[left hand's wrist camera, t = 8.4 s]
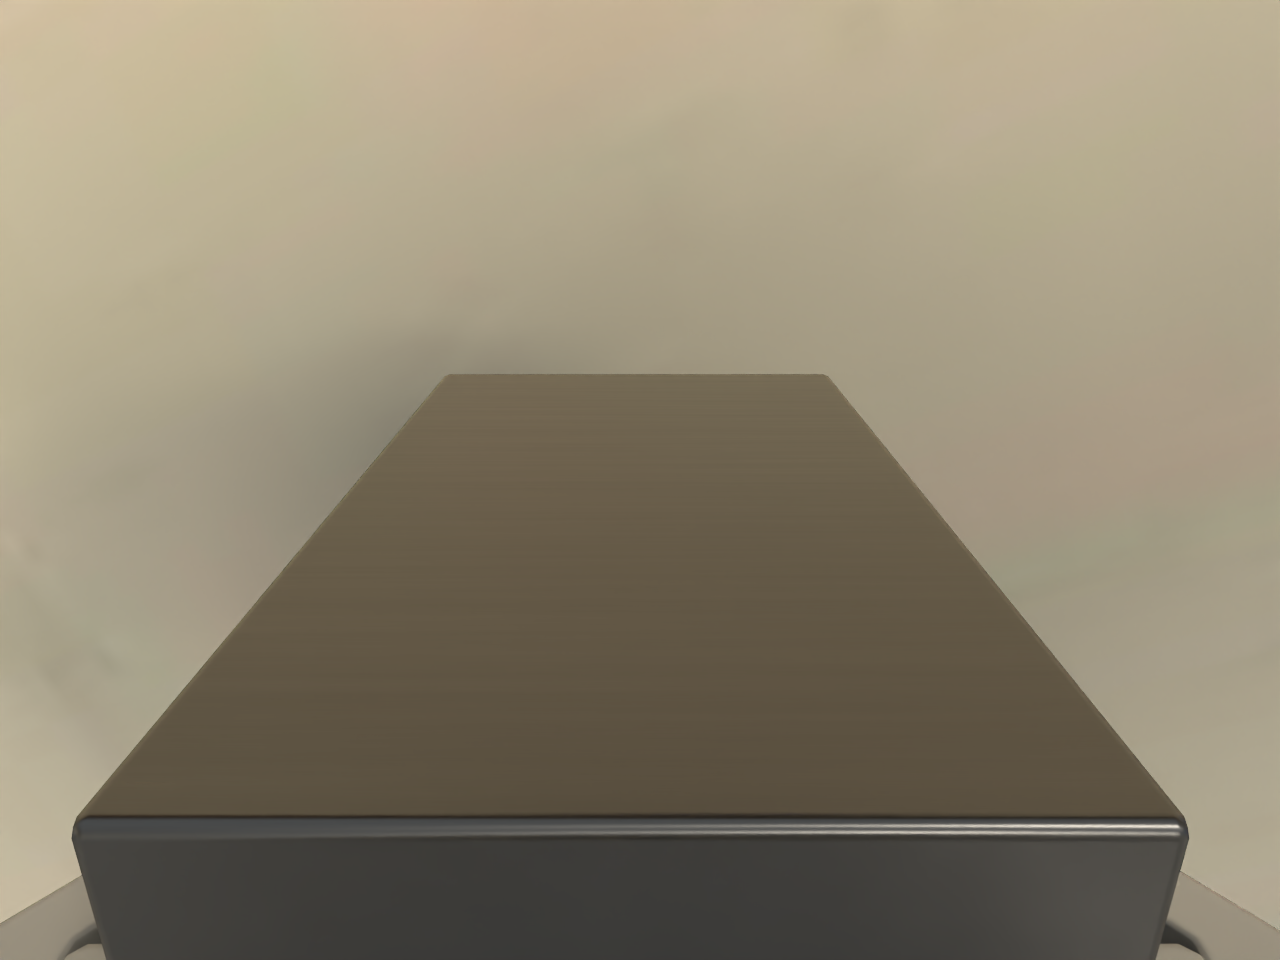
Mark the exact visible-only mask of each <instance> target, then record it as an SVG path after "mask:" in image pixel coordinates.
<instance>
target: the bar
mask: <svg viewBox="0 0 1280 960" xmlns="http://www.w3.org/2000/svg"><path fill="white" fill-rule="evenodd" d="M1188 840H1189V834H1188V827H1187V824H1186V821H1185V818H1184V816H1183V815H1182V813H1181V812H1180V811H1179V810H1178V809H1177V807H1176V806H1175V805H1174V804H1173V802H1172V801H1171V800H1170V799H1169V797H1168V796H1167V795H1166V794H1165V792H1164V791H1163V790H1162V789H1161V787H1160V786H1159V785H1158V784H1157V783H1156V781H1155V780H1154V779H1153V778H1152V776H1151V775H1150V774H1149V773H1148V771H1147V770H1146V769H1145V768H1144V766H1143V765H1142V764H1141V763H1140V762H1139V760H1138V759H1137V758H1136V757H1135V755H1134V754H1133V753H1132V752H1131V750H1130V749H1129V748H1128V747H1127V745H1126V744H1125V743H1124V742H1123V740H1122V739H1121V738H1120V737H1119V736H1118V734H1117V733H1116V732H1115V731H1114V729H1113V728H1112V727H1111V726H1110V724H1109V723H1108V722H1107V721H1106V719H1105V718H1104V717H1103V716H1102V715H1101V713H1100V712H1099V711H1098V710H1097V708H1096V707H1095V706H1094V705H1093V703H1092V702H1091V701H1090V700H1089V698H1088V697H1087V696H1086V695H1085V694H1084V692H1083V691H1082V690H1081V689H1080V687H1079V686H1078V685H1077V684H1076V682H1075V681H1074V680H1073V679H1072V677H1071V676H1070V675H1069V674H1068V672H1067V671H1066V670H1065V669H1064V668H1063V666H1062V665H1061V664H1060V663H1059V661H1058V660H1057V659H1056V658H1055V656H1054V655H1053V654H1052V653H1051V651H1050V650H1049V649H1048V648H1047V647H1046V645H1045V644H1044V643H1043V642H1042V640H1041V639H1040V638H1039V637H1038V635H1037V634H1036V633H1035V632H1034V630H1033V629H1032V628H1031V627H1030V626H1029V624H1028V623H1027V622H1026V621H1025V619H1024V618H1023V617H1022V616H1021V614H1020V613H1019V612H1018V611H1017V609H1016V608H1015V607H1014V606H1013V604H1012V603H1011V602H1010V601H1009V600H1008V598H1007V597H1006V596H1005V595H1004V593H1003V592H1002V591H1001V590H1000V588H999V587H998V586H997V585H996V583H995V582H994V581H993V580H992V579H991V577H990V576H989V575H988V574H987V572H986V571H985V570H984V569H983V567H982V566H981V565H980V564H979V562H978V561H977V560H976V559H975V558H974V556H973V555H972V554H971V553H970V551H969V550H968V549H967V548H966V546H965V545H964V544H963V543H962V541H961V540H960V539H959V538H958V536H957V535H956V534H955V533H954V532H953V530H952V529H951V528H950V527H949V525H948V524H947V523H946V522H945V520H944V519H943V518H942V517H941V515H940V514H939V513H938V512H937V511H936V509H935V508H934V507H933V506H932V504H931V503H930V502H929V501H928V499H927V498H926V497H925V496H924V494H923V493H922V492H921V491H920V490H919V488H918V487H917V486H916V485H915V483H914V482H913V481H912V480H911V478H910V477H909V476H908V475H907V473H906V472H905V471H904V470H903V468H902V467H901V466H900V465H899V464H898V462H897V461H896V460H895V459H894V457H893V456H892V455H891V454H890V452H889V451H888V450H887V449H886V447H885V446H884V445H883V444H882V443H881V441H880V440H879V439H878V438H877V436H876V435H875V434H874V433H873V431H872V430H871V429H870V428H869V426H868V425H867V424H866V423H865V422H864V420H863V419H862V418H861V417H860V415H859V414H858V413H857V412H856V410H855V409H854V408H853V407H852V405H851V404H850V403H849V402H848V400H847V399H846V398H845V397H844V396H843V394H842V393H841V392H840V391H839V389H838V388H837V387H836V386H835V384H834V383H833V382H832V381H831V379H830V378H829V377H828V376H826V375H823V374H450V375H447V376H445V377H444V378H443V379H442V381H441V382H440V383H439V384H438V385H437V387H436V388H435V389H434V390H433V391H432V393H431V394H430V395H429V396H428V397H427V399H426V400H425V401H424V402H423V403H422V405H421V406H420V407H419V408H418V409H417V411H416V412H415V413H414V414H413V415H412V417H411V418H410V419H409V420H408V421H407V422H406V424H405V425H404V426H403V427H402V428H401V430H400V431H399V432H398V433H397V434H396V436H395V437H394V438H393V439H392V440H391V442H390V443H389V444H388V445H387V446H386V448H385V449H384V450H383V451H382V452H381V454H380V455H379V456H378V457H377V458H376V460H375V461H374V462H373V463H372V464H371V466H370V467H369V468H368V469H367V470H366V472H365V473H364V474H363V475H362V476H361V478H360V479H359V480H358V481H357V482H356V484H355V485H354V486H353V487H352V488H351V490H350V491H349V492H348V493H347V494H346V495H345V497H344V498H343V499H342V500H341V501H340V503H339V504H338V505H337V506H336V507H335V509H334V510H333V511H332V512H331V513H330V515H329V516H328V517H327V518H326V519H325V521H324V522H323V523H322V524H321V525H320V527H319V528H318V529H317V530H316V531H315V533H314V534H313V535H312V536H311V537H310V539H309V540H308V541H307V542H306V543H305V545H304V546H303V547H302V548H301V549H300V551H299V552H298V553H297V554H296V555H295V557H294V558H293V559H292V560H291V561H290V562H289V564H288V565H287V566H286V567H285V568H284V570H283V571H282V572H281V573H280V574H279V576H278V577H277V578H276V579H275V580H274V582H273V583H272V584H271V585H270V586H269V588H268V589H267V590H266V591H265V592H264V594H263V595H262V596H261V597H260V598H259V600H258V601H257V602H256V603H255V604H254V606H253V607H252V608H251V609H250V610H249V612H248V613H247V614H246V615H245V616H244V618H243V619H242V620H241V621H240V622H239V624H238V625H237V626H236V627H235V628H234V629H233V631H232V632H231V633H230V634H229V635H228V637H227V638H226V639H225V640H224V641H223V643H222V644H221V645H220V646H219V647H218V649H217V650H216V651H215V652H214V653H213V655H212V656H211V657H210V658H209V659H208V661H207V662H206V663H205V664H204V665H203V667H202V668H201V669H200V670H199V671H198V673H197V674H196V675H195V676H194V677H193V679H192V680H191V681H190V682H189V683H188V685H187V686H186V687H185V688H184V689H183V691H182V692H181V693H180V694H179V695H178V697H177V698H176V699H175V700H174V701H173V702H172V704H171V705H170V706H169V707H168V708H167V710H166V711H165V712H164V713H163V714H162V716H161V717H160V718H159V719H158V720H157V722H156V723H155V724H154V725H153V726H152V728H151V729H150V730H149V731H148V732H147V734H146V735H145V736H144V737H143V738H142V740H141V741H140V742H139V743H138V744H137V746H136V747H135V748H134V749H133V750H132V752H131V753H130V754H129V755H128V756H127V758H126V759H125V760H124V761H123V762H122V764H121V765H120V766H119V767H118V768H117V769H116V771H115V772H114V773H113V774H112V775H111V777H110V778H109V779H108V780H107V781H106V783H105V784H104V785H103V786H102V787H101V789H100V790H99V791H98V792H97V793H96V795H95V796H94V797H93V798H92V799H91V801H90V802H89V803H88V804H87V805H86V807H85V808H84V809H83V810H82V811H81V813H80V814H79V815H78V816H77V818H76V821H75V824H74V826H73V832H72V842H73V845H74V849H75V852H76V856H77V859H78V863H79V866H80V870H81V873H82V877H83V880H84V884H85V887H86V891H87V894H88V898H89V901H90V905H91V908H92V912H93V915H94V919H95V922H96V926H97V929H98V933H99V936H100V940H101V943H102V947H103V950H104V954H105V957H106V960H1156V957H1157V953H1158V949H1159V946H1160V942H1161V938H1162V935H1163V931H1164V927H1165V924H1166V920H1167V917H1168V913H1169V909H1170V906H1171V902H1172V898H1173V895H1174V891H1175V888H1176V884H1177V880H1178V877H1179V873H1180V869H1181V866H1182V862H1183V858H1184V855H1185V851H1186V848H1187V844H1188Z"/></svg>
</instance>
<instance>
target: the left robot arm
mask: <svg viewBox="0 0 1280 960" xmlns="http://www.w3.org/2000/svg"><path fill="white" fill-rule="evenodd" d="M0 960H106V957H105V954H104V950H103V947H102V943H101V940H100V936H99V933H98V929H97V926H96V922H95V919H94V915H93V912H92V908H91V905H90V901H89V898H88V894H87V891H86V887H85V884H84V880H83V877H82V875H81V876H80V877H78V878H76V879H75V880H73V881H71V882H70V883H68V884H66V885H64V886H63V887H61V888H59V889H58V890H56V891H54V892H53V893H51V894H49V895H48V896H46V897H44V898H43V899H41V900H39V901H37V902H36V903H34V904H32V905H31V906H29V907H27V908H26V909H24V910H22V911H21V912H19V913H17V914H15V915H14V916H12V917H10V918H9V919H7V920H5V921H4V922H2V923H0ZM1156 960H1280V931H1279V930H1278V929H1276V928H1274V927H1273V926H1271V925H1269V924H1268V923H1266V922H1264V921H1263V920H1261V919H1259V918H1258V917H1256V916H1254V915H1253V914H1251V913H1249V912H1248V911H1246V910H1244V909H1243V908H1241V907H1239V906H1238V905H1236V904H1234V903H1233V902H1231V901H1229V900H1228V899H1226V898H1224V897H1223V896H1221V895H1219V894H1218V893H1216V892H1214V891H1213V890H1211V889H1209V888H1208V887H1206V886H1204V885H1203V884H1201V883H1199V882H1198V881H1196V880H1194V879H1193V878H1191V877H1189V876H1187V875H1186V874H1184V873H1182V872H1181V871H1180V873H1179V877H1178V880H1177V884H1176V888H1175V891H1174V895H1173V898H1172V902H1171V906H1170V909H1169V913H1168V917H1167V920H1166V924H1165V927H1164V931H1163V935H1162V938H1161V942H1160V946H1159V949H1158V953H1157V957H1156Z"/></svg>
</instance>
